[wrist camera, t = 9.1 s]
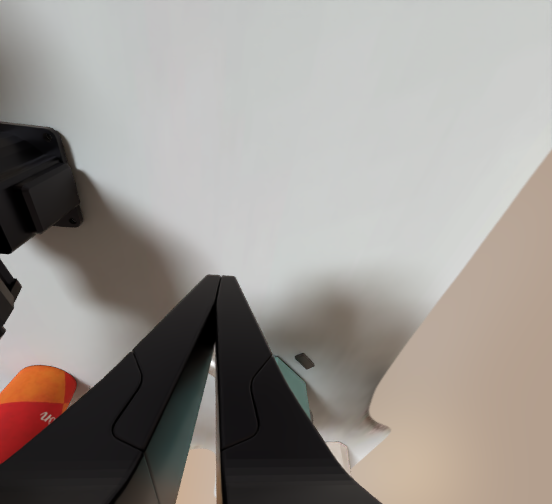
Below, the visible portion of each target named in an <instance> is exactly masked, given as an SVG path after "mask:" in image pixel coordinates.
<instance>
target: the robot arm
mask: <svg viewBox="0 0 552 504" xmlns="http://www.w3.org/2000/svg"><path fill="white" fill-rule="evenodd" d="M47 133H48V134H49V135H50V136H51V137H52V140H50V139H49V138H48V137H47ZM79 204H80V200H79V196H78V192H77V189H76V185H75V182H74V178H73V174H72V171H71V168H70V166H69V165H68V163H67V159H66V155H65V152H64V148H63V145H62V141H61V137H60V135H59V133H58V132H57V131H56V130H54V129H53V128H50V127H43V126H34V125H25V124H17V123H8V122H0V254H11V253H12V252H13V251H15V250H16V249H17V248H19V247H20V246H21V245H23V244H24V243H25V242H27V241H28V240H29V239H30V238H32V237H33V236H34V235H36V234H42V233H43V232H45V231H46V230H47V229H48V228H50V227H51V226H62V227H78V226H80V225H81V224H82V223H83V216H82V213H81V209H80V206H79ZM72 218H74V219H75V220H76V221H77V222H76V221H74V220H72ZM21 288H22V286H21V284H20V283H19V281H18V280H17V279H15V278H13V277H12V275H11V274H10V272H9V271H8V269H7V268H6V267H5V265H4V264H3V262H2V261H1V259H0V339H1V338H2V336H3V335H4V333H5V332H6V329H5V328H4V327H3V325H4V324H5V322H6V321H7V319H8V317H9V316H10V314H11V312H12V311H13V309H14V302H15V300H16V298H17V296H18V294H19V292H20V290H21ZM214 347H215V392H216V492H217V504H382V503H381V502H379V501H378V500H377V499H376V498H375V497H373V496H372V495H371V494H370V493H369V492H368V491H366V490H365V489H364V488H363V487H362V486H360V485H359V484H358V483H357V482H356V481H355V480H354V479H353V478H352V477H351V476H350V475H349V474H348V473H347V472H346V471H345V469H344V468H343V467H342V466H341V464H340V463H339V462H338V461H337V459H336V458H335V456H334V455H333V453H332V452H331V451H330V449H329V448H328V446H327V444H326V443H325V441H324V440H323V438H322V437H321V435H320V434H319V432H318V431H317V429H316V428H315V426H314V425H313V423H312V422H311V420H310V418H309V417H308V415H307V414H306V412H305V411H304V409H303V408H302V406H301V405H300V403H299V402H298V400H297V398H296V397H295V395H294V393H293V392H292V390H291V389H290V387H289V385H288V383H287V382H286V380H285V378H284V376H283V374H282V372H281V370H280V368H279V366H278V364H277V362H276V360H275V358H274V357H273V354H272V352H271V350H270V348H269V346H268V344H267V342H266V340H265V338H264V335H263V333H262V331H261V329H260V327H259V325H258V323H257V321H256V319H255V317H254V315H253V313H252V311H251V309H250V306H249V304H248V302H247V300H246V298H245V296H244V294H243V292H242V290H241V288H240V286H239V284H238V282H237V279H236V278H235V277H234V276H225V275H223V276H222V277H221V276H220V275H210V274H209V275H206V276H205V277H204V278H203V279H202V280H201V281H200V282H199V283H198V284H197V285H196V286H195V287H194V288H193V289H192V290H191V291H190V292H189V293H188V294H187V295H186V296H185V297H184V298H183V299H182V300H181V301H180V302H179V303H178V304H177V305H176V306H175V307H174V308H173V309H172V311H171V312H170V313H169V314H168V315H167V316H166V317H165V318H164V319H163V320H162V321H161V322H160V323H159V324H158V325H157V326H156V327H155V328H154V329H153V330H152V331H151V332H150V333H149V334H148V335H147V336H146V337H145V338H144V339H143V340H142V341H141V342H140V343H139V344H138V345H137V346H136V347H135V348H134V349H133V350H132V352H129V353H128V355H127V356H126V357H125V358H124V359H123V360H122V361H121V362H120V363H119V364H117V365H116V366H115V367H114V368H113V369H112V370H111V371H110V372H109V373H108V374H107V375H106V376H105V377H104V378H103V379H102V380H101V381H100V382H98V383H97V384H96V385H95V386H94V387H93V388H92V389H90V390H89V391H88V392H87V393H86V394H85V395H83V396H82V397H81V398H80V399H79V400H78V401H77V402H75V403H74V404H73V405H72V406H71V407H69V408H68V409H67V410H66V411H65V412H63V413H62V414H61V415H60V416H59V417H57V418H56V419H55V420H54V421H53V422H51V423H50V424H49V425H48V426H47V427H45V428H44V429H43V430H42V431H41V432H40V433H38V434H37V435H36V436H35V437H34V438H32V439H31V440H30V441H29V442H28V443H26V444H25V445H24V446H23V447H22V448H20V449H19V450H18V451H17V452H16V453H14V454H13V455H12V456H11V457H9V458H8V459H7V460H6V461H4V462H3V463H1V464H0V504H175V503H176V499H177V495H178V491H179V487H180V483H181V479H182V475H183V471H184V467H185V463H186V459H187V456H188V452H189V448H190V444H191V440H192V436H193V432H194V428H195V424H196V420H197V416H198V412H199V408H200V404H201V400H202V396H203V392H204V388H205V384H206V380H207V376H208V372H209V368H210V364H211V360H212V356H213V352H214Z"/></svg>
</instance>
